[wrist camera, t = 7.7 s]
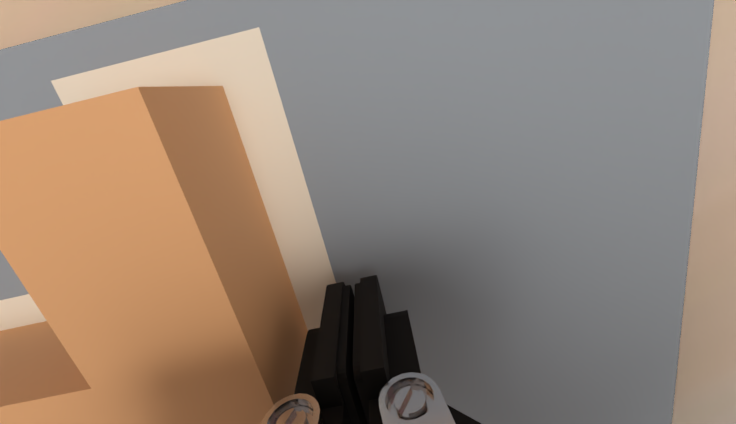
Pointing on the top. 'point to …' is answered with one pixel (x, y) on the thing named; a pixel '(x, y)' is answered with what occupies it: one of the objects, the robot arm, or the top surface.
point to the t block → (142, 266)
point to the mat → (449, 173)
